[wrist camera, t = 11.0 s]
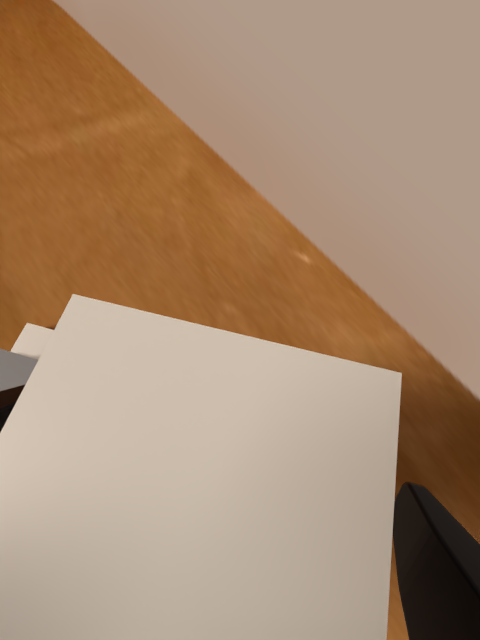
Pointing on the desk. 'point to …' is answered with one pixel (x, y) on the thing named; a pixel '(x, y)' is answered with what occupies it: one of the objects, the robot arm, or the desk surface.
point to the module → (195, 487)
